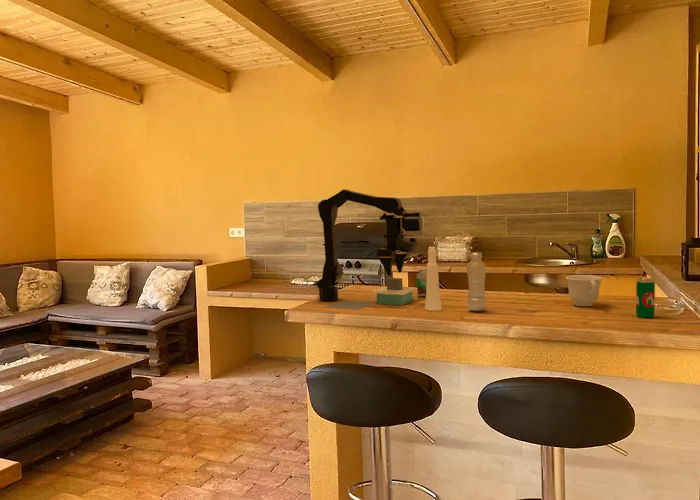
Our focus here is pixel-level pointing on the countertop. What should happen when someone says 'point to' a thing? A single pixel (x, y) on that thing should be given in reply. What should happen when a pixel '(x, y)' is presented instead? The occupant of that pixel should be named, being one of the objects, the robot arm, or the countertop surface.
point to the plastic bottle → (476, 283)
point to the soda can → (645, 297)
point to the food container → (421, 283)
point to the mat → (351, 304)
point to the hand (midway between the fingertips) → (394, 273)
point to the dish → (394, 299)
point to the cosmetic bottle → (432, 283)
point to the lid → (394, 287)
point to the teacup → (583, 289)
